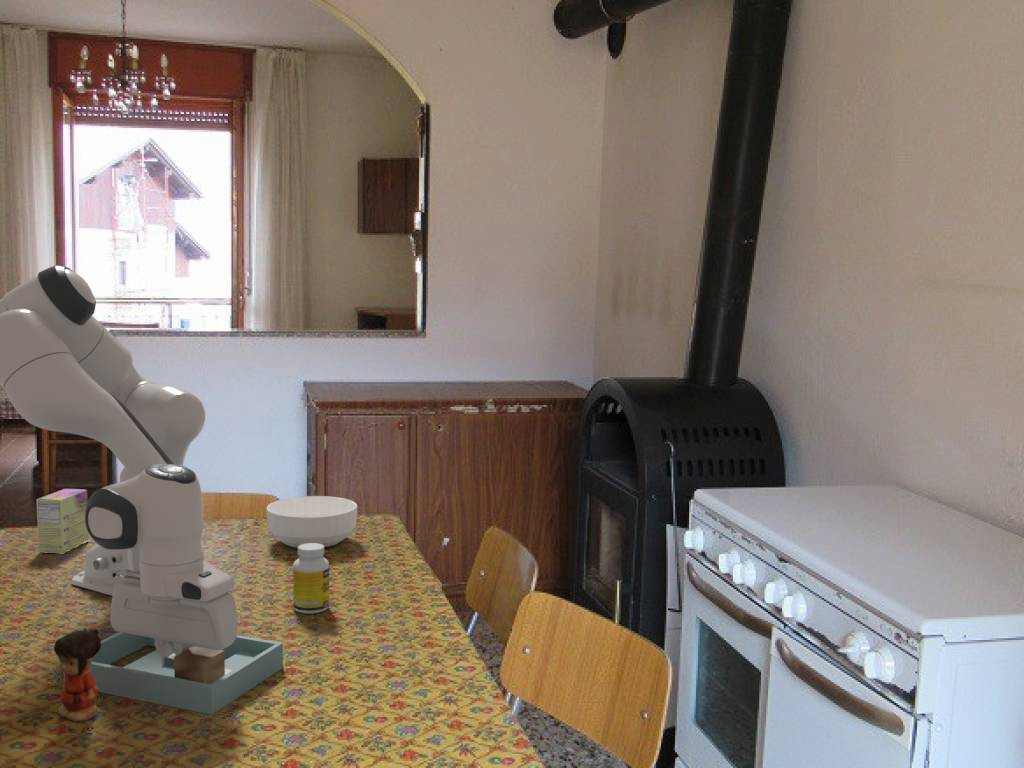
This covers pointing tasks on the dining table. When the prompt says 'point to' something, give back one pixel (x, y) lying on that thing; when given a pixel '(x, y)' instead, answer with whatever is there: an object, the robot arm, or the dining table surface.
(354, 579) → the dining table surface
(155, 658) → the tray
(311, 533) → the bowl
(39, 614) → the dining table surface
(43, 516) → the box
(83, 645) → the figurine
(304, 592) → the pill bottle
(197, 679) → the block
